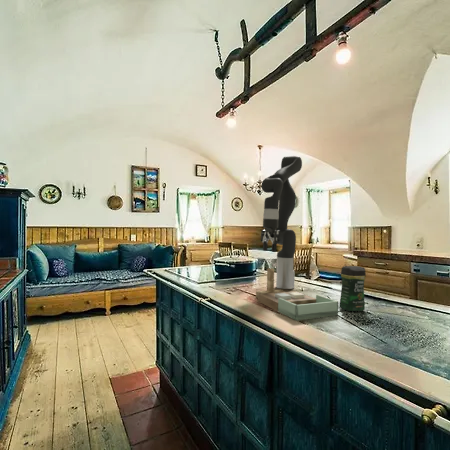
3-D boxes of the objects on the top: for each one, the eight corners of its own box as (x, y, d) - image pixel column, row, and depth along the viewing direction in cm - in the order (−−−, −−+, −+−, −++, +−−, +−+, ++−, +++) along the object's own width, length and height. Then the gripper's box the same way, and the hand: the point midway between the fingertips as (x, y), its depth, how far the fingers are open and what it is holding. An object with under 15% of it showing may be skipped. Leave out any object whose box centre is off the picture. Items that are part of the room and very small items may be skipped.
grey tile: (284, 296, 131) (284, 293, 131) (291, 299, 127) (291, 295, 127) (274, 297, 129) (274, 293, 129) (281, 299, 125) (281, 296, 125)
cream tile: (297, 295, 134) (297, 292, 134) (304, 297, 129) (304, 294, 129) (288, 296, 132) (288, 292, 132) (294, 298, 127) (295, 295, 127)
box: (317, 307, 127) (317, 294, 127) (338, 315, 116) (338, 301, 116) (278, 311, 120) (278, 298, 120) (296, 320, 109) (296, 305, 109)
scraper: (280, 295, 148) (281, 267, 148) (283, 297, 145) (284, 268, 145) (255, 297, 143) (256, 268, 143) (259, 299, 140) (259, 269, 140)
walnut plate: (294, 298, 142) (294, 291, 142) (316, 307, 128) (317, 299, 128) (258, 301, 135) (258, 294, 135) (277, 311, 120) (277, 302, 120)
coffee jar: (349, 313, 120) (350, 267, 120) (336, 307, 127) (337, 265, 127) (368, 311, 123) (369, 267, 123) (354, 306, 130) (355, 264, 130)
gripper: (285, 218, 141) (283, 252, 141) (270, 219, 154) (268, 250, 154) (271, 217, 138) (270, 252, 138) (257, 218, 152) (255, 249, 151)
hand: (269, 251), depth 146 cm, fingers open, 8 cm apart
